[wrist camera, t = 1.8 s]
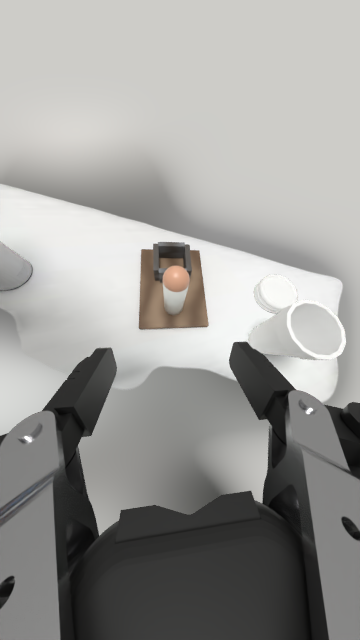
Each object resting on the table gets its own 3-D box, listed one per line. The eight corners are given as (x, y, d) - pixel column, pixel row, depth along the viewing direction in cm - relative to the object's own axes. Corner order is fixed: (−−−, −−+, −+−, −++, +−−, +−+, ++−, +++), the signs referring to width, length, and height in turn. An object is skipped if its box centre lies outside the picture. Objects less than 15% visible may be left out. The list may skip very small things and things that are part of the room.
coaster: (289, 288, 39) (300, 281, 35) (285, 318, 36) (297, 314, 32) (256, 276, 39) (264, 268, 36) (249, 305, 36) (257, 299, 33)
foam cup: (234, 335, 33) (274, 318, 20) (260, 315, 35) (310, 290, 23) (261, 369, 31) (323, 373, 19) (286, 346, 33) (357, 336, 21)
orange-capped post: (164, 315, 32) (162, 284, 19) (164, 298, 33) (161, 259, 20) (183, 314, 32) (192, 284, 19) (182, 298, 33) (190, 259, 21)
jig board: (140, 329, 31) (134, 322, 26) (142, 252, 38) (138, 236, 33) (207, 326, 33) (213, 320, 28) (198, 253, 39) (202, 238, 34)
